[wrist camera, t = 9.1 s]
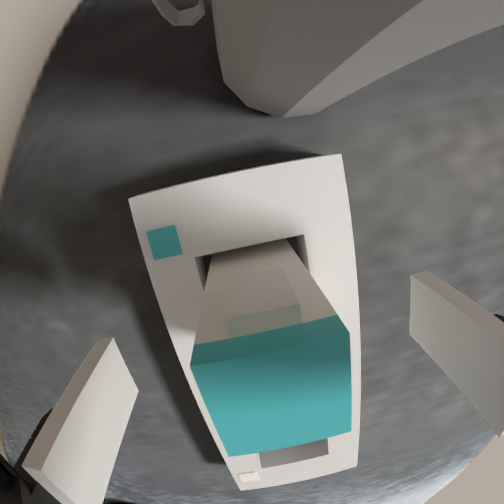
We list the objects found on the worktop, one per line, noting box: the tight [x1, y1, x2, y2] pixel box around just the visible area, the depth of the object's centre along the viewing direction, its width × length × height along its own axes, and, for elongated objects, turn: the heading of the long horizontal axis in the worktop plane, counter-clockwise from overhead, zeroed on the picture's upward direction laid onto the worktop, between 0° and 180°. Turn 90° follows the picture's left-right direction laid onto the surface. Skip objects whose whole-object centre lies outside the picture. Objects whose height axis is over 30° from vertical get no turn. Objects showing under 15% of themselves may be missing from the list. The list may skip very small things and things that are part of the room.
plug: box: [190, 238, 352, 457], centre depth 12 cm, size 4×5×10 cm
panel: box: [128, 154, 361, 491], centre depth 18 cm, size 10×24×3 cm, turn 11°
